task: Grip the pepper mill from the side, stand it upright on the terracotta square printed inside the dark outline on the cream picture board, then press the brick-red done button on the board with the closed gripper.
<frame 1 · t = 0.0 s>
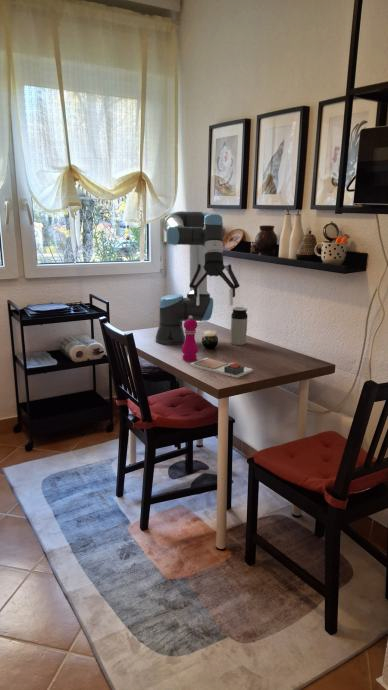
hand: (214, 305, 203), 28 cm above the table, tool tilted 20°, fingers open, 13 cm apart
picture board: (221, 368, 214), on the table
travel mug: (237, 343, 255), on the table
done button: (234, 365, 206), point 4 cm above the table, slide at 0.0 cm
pepper mill: (189, 359, 226), on the table
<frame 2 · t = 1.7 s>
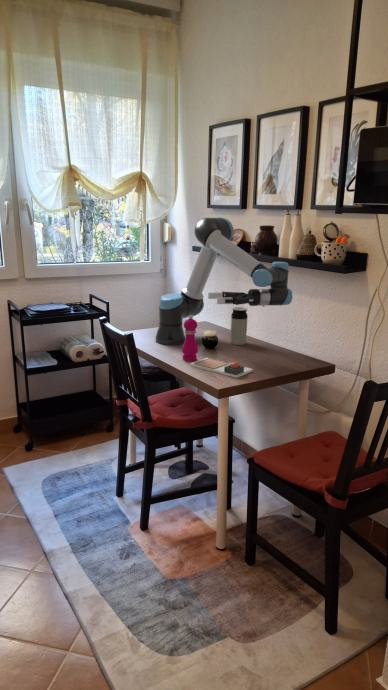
hand: (212, 298, 221), 27 cm above the table, tool horizontal, fingers open, 13 cm apart
nothing on the table moved.
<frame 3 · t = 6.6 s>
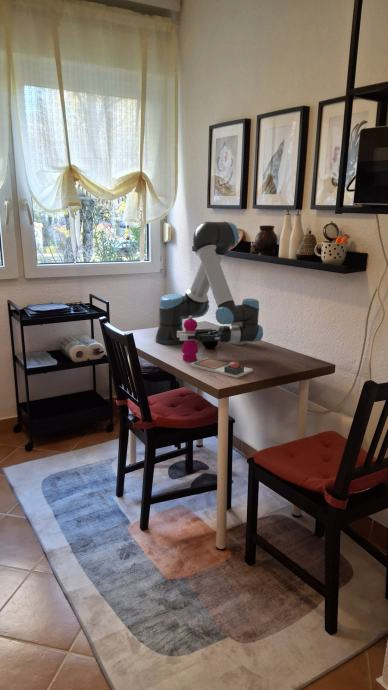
hand: (178, 335, 221), 11 cm above the table, tool horizontal, fingers closed on pepper mill, 5 cm apart
pepper mill: (189, 359, 226), on the table, touching gripper
everything else where it was.
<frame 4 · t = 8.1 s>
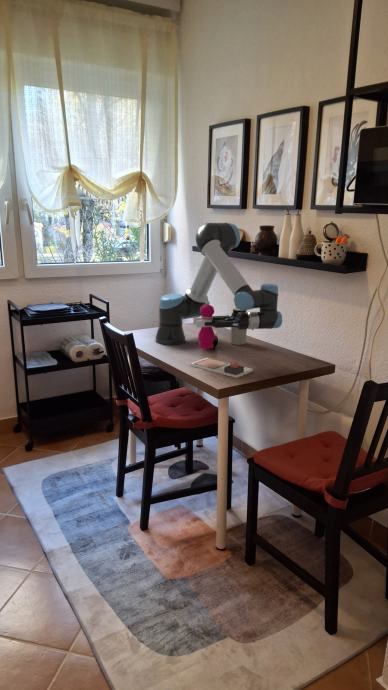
hand: (195, 322, 213), 19 cm above the table, tool horizontal, fingers closed on pepper mill, 5 cm apart
pepper mill: (206, 347, 217), point 8 cm above the table, touching gripper
everything else where it was.
when the fingers open (13 cm above the table, at t = 9.6 s): pepper mill drops 1 cm, resting on picture board.
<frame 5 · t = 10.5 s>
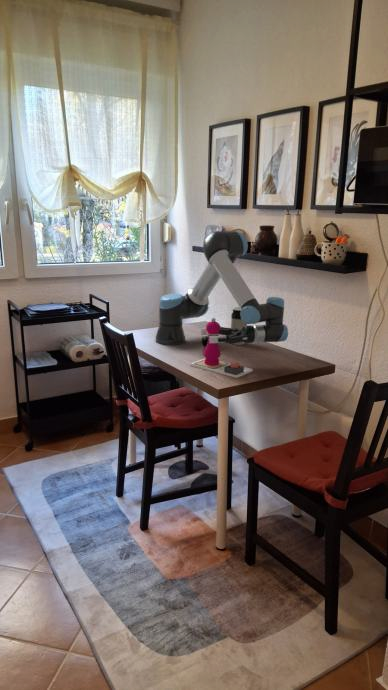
hand: (205, 335, 213), 13 cm above the table, tool horizontal, fingers open, 13 cm apart
pepper mill: (211, 363, 217), point 1 cm above the table, touching picture board
everything else where it was.
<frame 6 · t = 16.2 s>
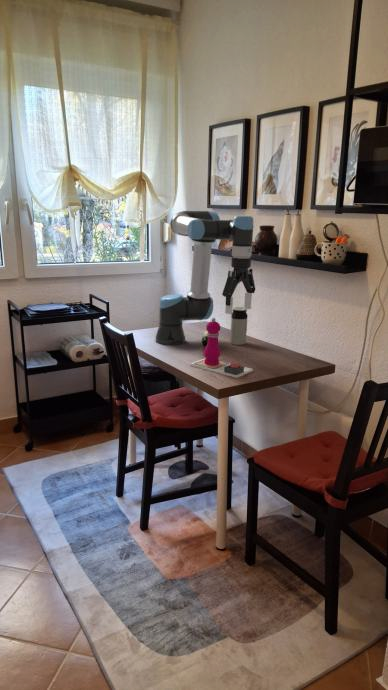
hand: (238, 311, 200), 26 cm above the table, tool pointing down, fingers open, 13 cm apart
nothing on the table moved.
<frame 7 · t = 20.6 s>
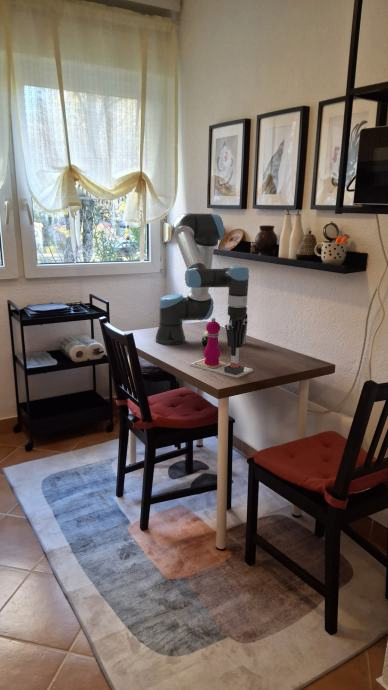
hand: (234, 362, 206), 5 cm above the table, tool pointing down, fingers closed
done button: (234, 366, 206), point 4 cm above the table, slide at 0.1 cm, touching gripper
everything else where it was.
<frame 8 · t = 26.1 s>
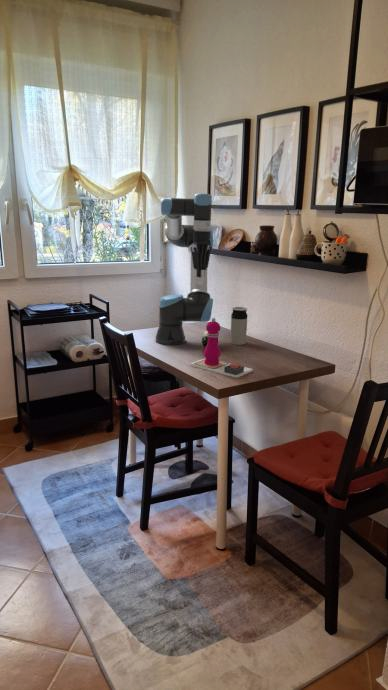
hand: (200, 284, 227), 32 cm above the table, tool pointing down, fingers closed
done button: (234, 367, 206), point 3 cm above the table, slide at 0.6 cm
everything else where it was.
at the end: pepper mill inside the target area (0.1 cm from its centre), point 0.9 cm above the table; pepper mill tilted 0°; done button slide at 0.6 cm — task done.
